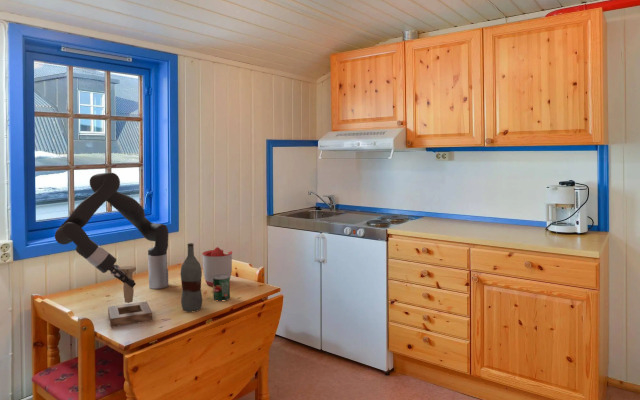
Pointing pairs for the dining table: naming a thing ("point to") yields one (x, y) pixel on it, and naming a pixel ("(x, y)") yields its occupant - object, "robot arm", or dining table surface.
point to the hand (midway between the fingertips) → (133, 284)
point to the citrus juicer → (216, 264)
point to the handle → (126, 288)
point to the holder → (129, 313)
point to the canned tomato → (221, 287)
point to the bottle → (191, 282)
